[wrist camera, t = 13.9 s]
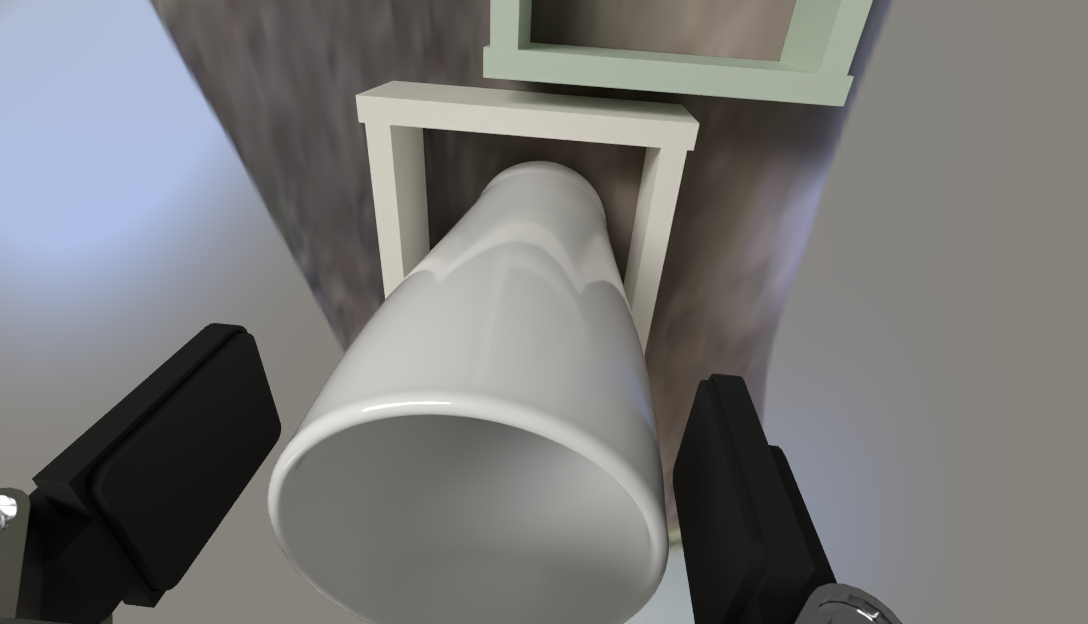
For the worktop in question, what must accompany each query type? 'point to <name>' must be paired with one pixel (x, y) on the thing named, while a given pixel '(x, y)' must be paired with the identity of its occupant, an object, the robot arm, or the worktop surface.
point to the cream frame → (414, 106)
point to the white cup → (487, 431)
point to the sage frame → (691, 59)
